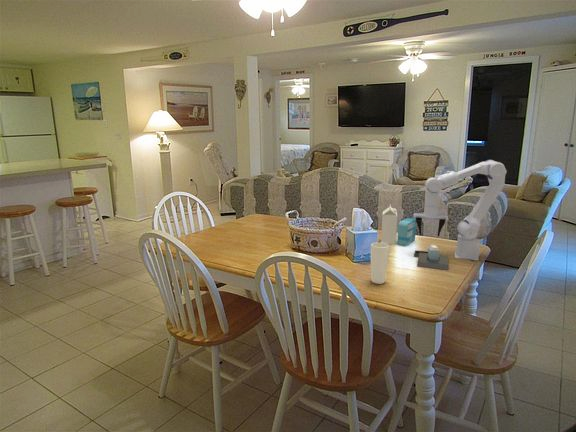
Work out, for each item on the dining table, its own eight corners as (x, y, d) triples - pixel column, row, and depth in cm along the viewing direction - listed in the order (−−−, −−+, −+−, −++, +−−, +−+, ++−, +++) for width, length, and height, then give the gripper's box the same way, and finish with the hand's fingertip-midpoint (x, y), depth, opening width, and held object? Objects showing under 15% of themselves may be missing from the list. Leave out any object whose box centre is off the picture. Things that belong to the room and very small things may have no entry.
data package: (405, 247, 196) (407, 223, 193) (396, 246, 199) (398, 222, 196) (415, 241, 205) (416, 218, 202) (406, 239, 208) (407, 217, 205)
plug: (435, 263, 176) (437, 245, 174) (438, 266, 172) (439, 247, 170) (427, 263, 176) (428, 245, 174) (429, 266, 172) (431, 247, 170)
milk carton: (380, 244, 201) (382, 207, 196) (381, 240, 208) (383, 203, 203) (395, 245, 200) (398, 207, 195) (395, 241, 206) (397, 204, 202)
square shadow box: (429, 255, 186) (429, 251, 185) (428, 259, 180) (429, 256, 179) (414, 253, 188) (415, 250, 188) (413, 257, 182) (414, 254, 182)
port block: (447, 261, 177) (448, 255, 177) (447, 271, 166) (448, 264, 166) (418, 258, 182) (419, 252, 181) (417, 267, 171) (417, 261, 170)
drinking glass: (367, 278, 160) (368, 242, 156) (384, 277, 161) (385, 241, 157) (372, 285, 154) (373, 247, 150) (389, 284, 154) (391, 247, 150)
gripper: (449, 204, 180) (446, 233, 184) (414, 202, 185) (412, 230, 188) (449, 207, 174) (446, 238, 177) (414, 205, 179) (412, 235, 182)
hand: (429, 234), depth 182 cm, fingers open, 7 cm apart
